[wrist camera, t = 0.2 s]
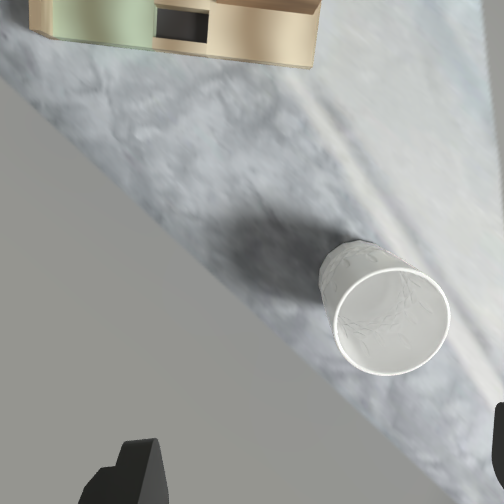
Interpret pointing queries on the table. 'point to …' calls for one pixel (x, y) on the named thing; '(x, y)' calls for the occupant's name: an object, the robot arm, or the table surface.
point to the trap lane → (183, 28)
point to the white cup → (382, 309)
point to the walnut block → (277, 5)
